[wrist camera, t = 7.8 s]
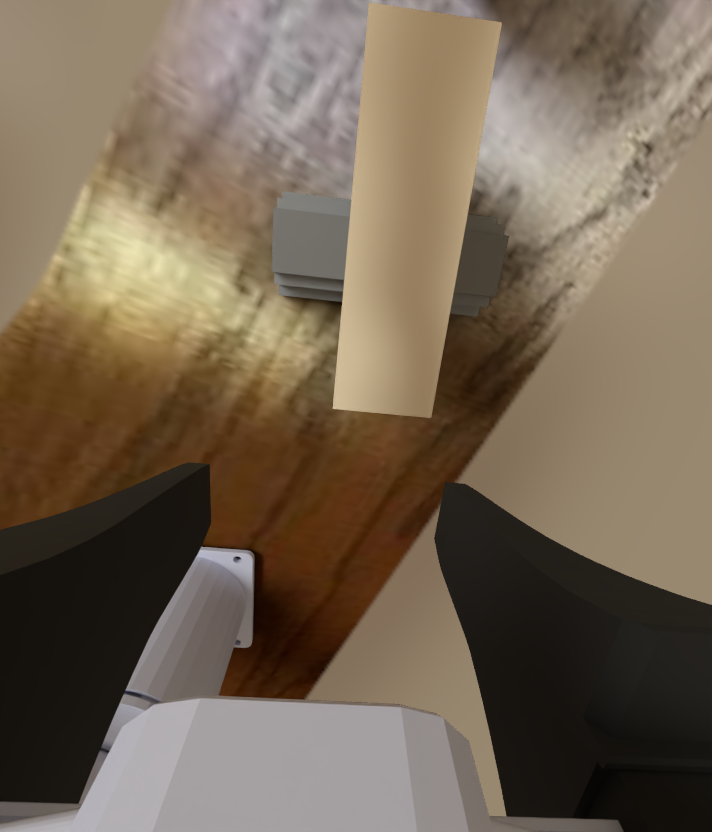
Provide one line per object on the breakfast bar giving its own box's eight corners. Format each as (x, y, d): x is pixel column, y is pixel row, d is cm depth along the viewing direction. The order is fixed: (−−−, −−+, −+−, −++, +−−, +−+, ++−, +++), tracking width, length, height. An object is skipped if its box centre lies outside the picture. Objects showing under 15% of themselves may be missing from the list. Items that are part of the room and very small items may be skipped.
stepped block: (281, 294, 19) (271, 295, 17) (285, 195, 18) (274, 179, 15) (472, 315, 20) (490, 319, 17) (491, 220, 18) (514, 209, 16)
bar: (337, 376, 18) (332, 408, 13) (362, 96, 14) (369, 2, 10) (409, 383, 18) (431, 417, 13) (452, 108, 15) (502, 22, 10)
